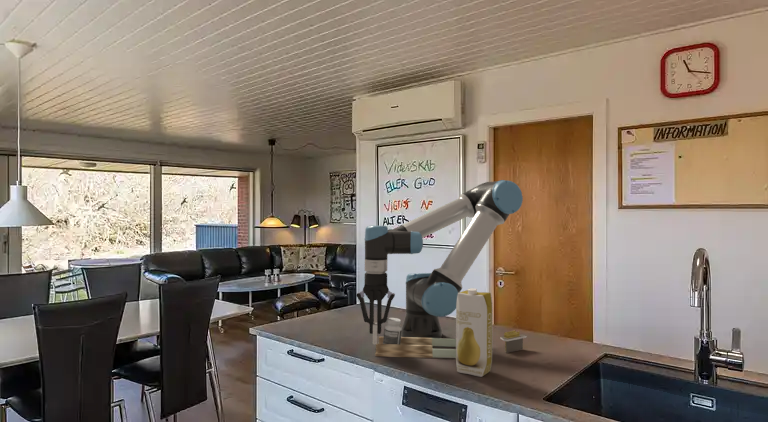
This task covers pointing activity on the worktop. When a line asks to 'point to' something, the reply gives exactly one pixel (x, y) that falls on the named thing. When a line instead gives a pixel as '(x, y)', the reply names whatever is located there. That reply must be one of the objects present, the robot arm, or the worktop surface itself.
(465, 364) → the juice carton
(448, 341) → the tray
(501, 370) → the worktop surface
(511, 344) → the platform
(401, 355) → the slot rails
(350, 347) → the worktop surface
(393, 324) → the pill bottle
